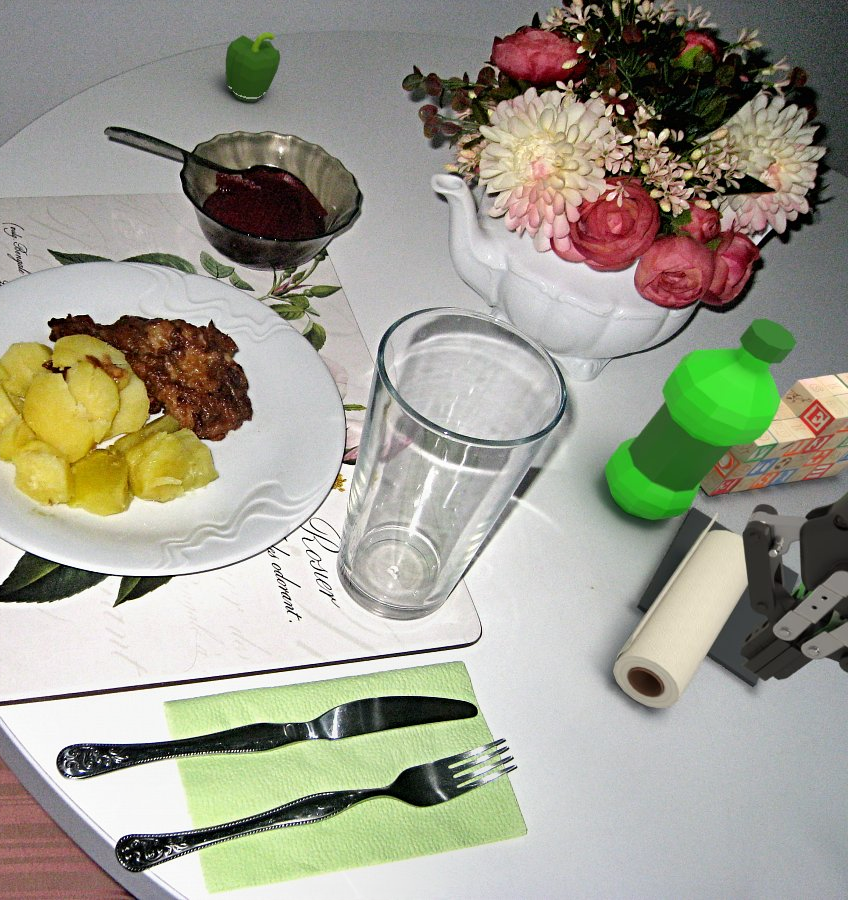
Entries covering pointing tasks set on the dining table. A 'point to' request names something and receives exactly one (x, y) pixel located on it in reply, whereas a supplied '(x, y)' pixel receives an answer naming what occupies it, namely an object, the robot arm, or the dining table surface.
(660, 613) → the paper towel roll
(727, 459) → the stack of blocks
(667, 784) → the dining table surface
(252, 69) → the bell pepper
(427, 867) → the dining table surface
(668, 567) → the mat
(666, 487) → the plastic bottle
